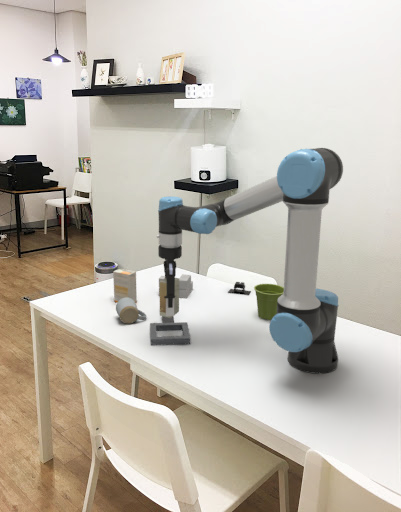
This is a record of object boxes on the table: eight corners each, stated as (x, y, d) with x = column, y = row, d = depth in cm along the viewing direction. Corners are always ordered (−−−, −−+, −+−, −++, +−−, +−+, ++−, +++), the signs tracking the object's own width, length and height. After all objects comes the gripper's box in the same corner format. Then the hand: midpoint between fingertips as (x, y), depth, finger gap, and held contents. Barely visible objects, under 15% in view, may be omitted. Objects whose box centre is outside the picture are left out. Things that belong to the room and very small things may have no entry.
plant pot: (269, 325, 177) (271, 296, 174) (245, 315, 185) (247, 287, 182) (290, 317, 184) (292, 289, 181) (266, 308, 193) (268, 281, 190)
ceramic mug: (119, 326, 174) (119, 305, 172) (115, 317, 181) (115, 298, 179) (148, 322, 177) (148, 302, 175) (143, 314, 185) (143, 295, 182)
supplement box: (137, 302, 196) (136, 271, 192) (129, 306, 192) (128, 274, 188) (121, 298, 200) (120, 267, 197) (113, 301, 196) (112, 270, 193)
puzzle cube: (192, 289, 213) (193, 272, 211) (186, 299, 202) (187, 280, 199) (166, 287, 215) (166, 270, 213) (158, 296, 204) (158, 278, 202)
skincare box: (168, 309, 168) (168, 275, 165) (179, 312, 166) (180, 277, 163) (158, 316, 162) (158, 281, 159) (170, 318, 160) (170, 283, 157)
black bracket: (255, 292, 213) (255, 282, 211) (251, 297, 206) (252, 287, 205) (227, 288, 216) (227, 279, 215) (223, 294, 209) (223, 284, 208)
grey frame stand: (190, 344, 161) (190, 338, 160) (150, 345, 159) (150, 339, 159) (183, 308, 190) (183, 303, 190) (149, 309, 189) (149, 304, 188)
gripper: (157, 237, 167) (157, 300, 173) (159, 253, 148) (159, 323, 154) (179, 237, 168) (178, 300, 174) (184, 253, 148) (182, 323, 155)
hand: (169, 311), depth 164 cm, fingers closed on skincare box, 7 cm apart
